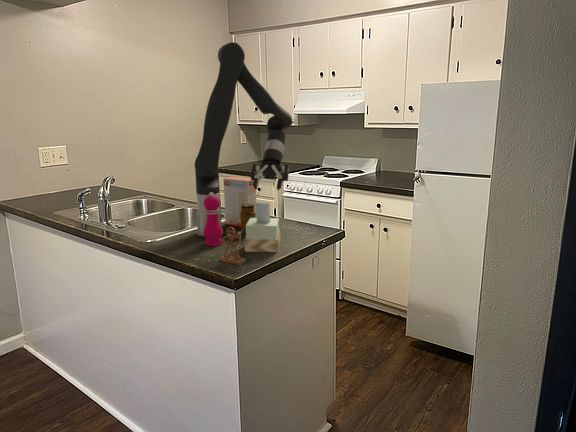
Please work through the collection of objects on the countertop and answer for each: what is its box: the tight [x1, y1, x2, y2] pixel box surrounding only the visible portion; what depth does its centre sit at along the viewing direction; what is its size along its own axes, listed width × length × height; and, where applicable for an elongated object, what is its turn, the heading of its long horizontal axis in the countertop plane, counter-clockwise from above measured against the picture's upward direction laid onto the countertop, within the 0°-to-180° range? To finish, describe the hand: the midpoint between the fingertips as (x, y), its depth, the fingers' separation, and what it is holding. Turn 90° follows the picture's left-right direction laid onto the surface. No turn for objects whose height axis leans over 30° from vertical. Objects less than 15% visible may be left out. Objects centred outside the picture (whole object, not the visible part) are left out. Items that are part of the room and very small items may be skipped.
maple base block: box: [243, 229, 281, 253], centre depth 162 cm, size 12×12×5 cm
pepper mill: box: [203, 192, 224, 247], centre depth 164 cm, size 7×7×20 cm
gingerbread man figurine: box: [218, 226, 247, 266], centre depth 147 cm, size 9×4×12 cm, turn 58°
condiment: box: [236, 204, 256, 238], centre depth 178 cm, size 7×8×12 cm
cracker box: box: [223, 176, 257, 228], centre depth 189 cm, size 14×6×21 cm, turn 53°
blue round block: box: [256, 201, 271, 224], centre depth 160 cm, size 5×5×7 cm
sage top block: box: [246, 217, 280, 240], centre depth 161 cm, size 11×11×5 cm
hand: (266, 188), depth 161 cm, fingers open, 8 cm apart
